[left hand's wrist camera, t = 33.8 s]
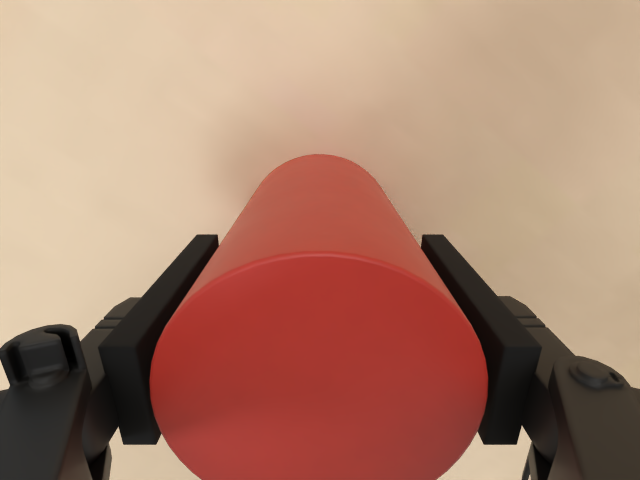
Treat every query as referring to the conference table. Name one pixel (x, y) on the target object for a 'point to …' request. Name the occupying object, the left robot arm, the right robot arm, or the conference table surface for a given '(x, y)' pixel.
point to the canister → (318, 343)
